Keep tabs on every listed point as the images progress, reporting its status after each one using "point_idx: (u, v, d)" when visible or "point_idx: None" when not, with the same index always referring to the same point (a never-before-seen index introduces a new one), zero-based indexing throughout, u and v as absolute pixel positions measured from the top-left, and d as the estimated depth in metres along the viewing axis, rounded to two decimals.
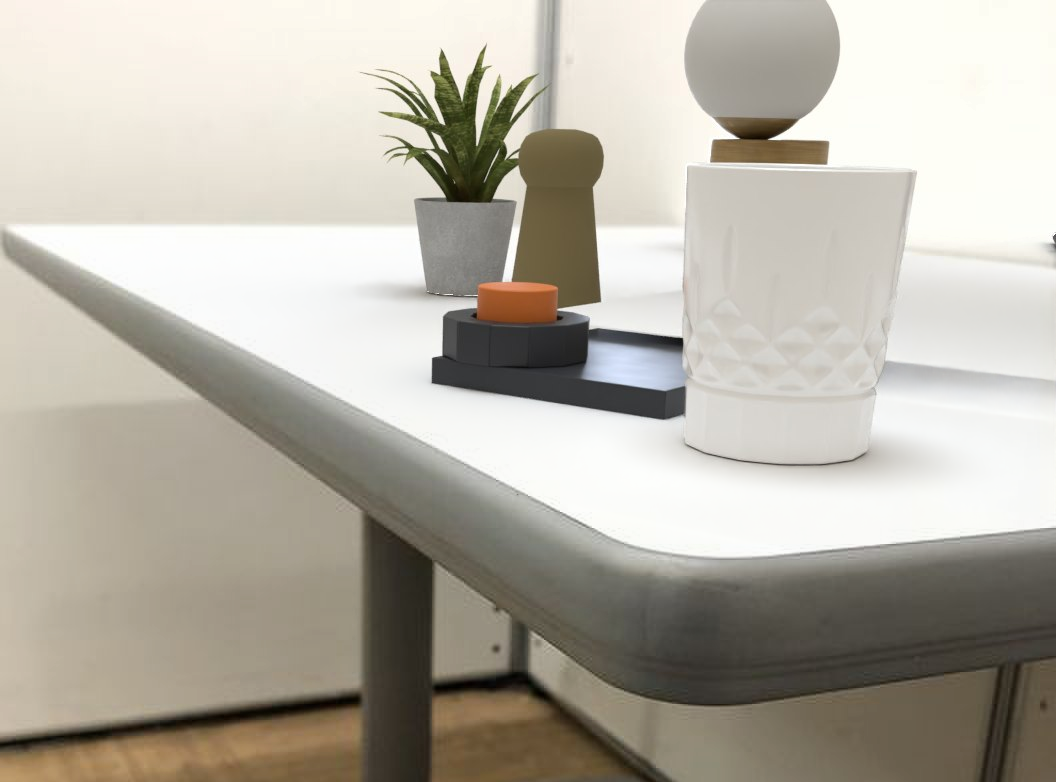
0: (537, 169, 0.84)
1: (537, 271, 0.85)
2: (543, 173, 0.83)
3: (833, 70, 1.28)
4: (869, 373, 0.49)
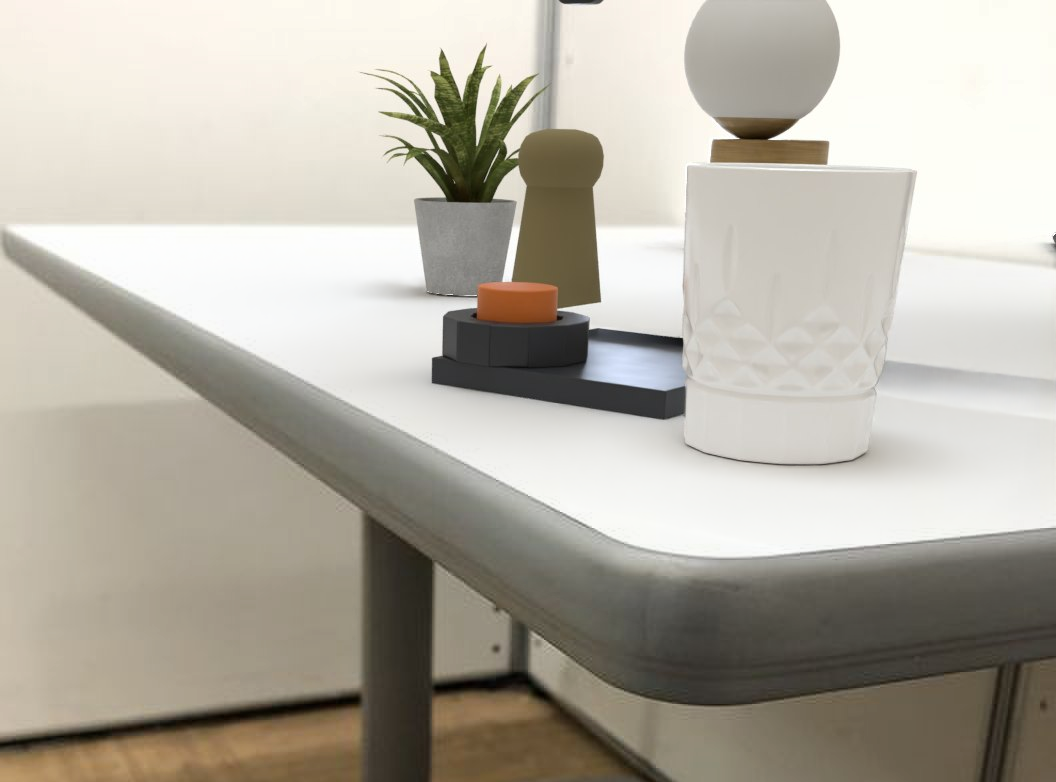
0: (537, 169, 0.84)
1: (537, 271, 0.85)
2: (543, 173, 0.83)
3: (833, 70, 1.28)
4: (869, 373, 0.49)
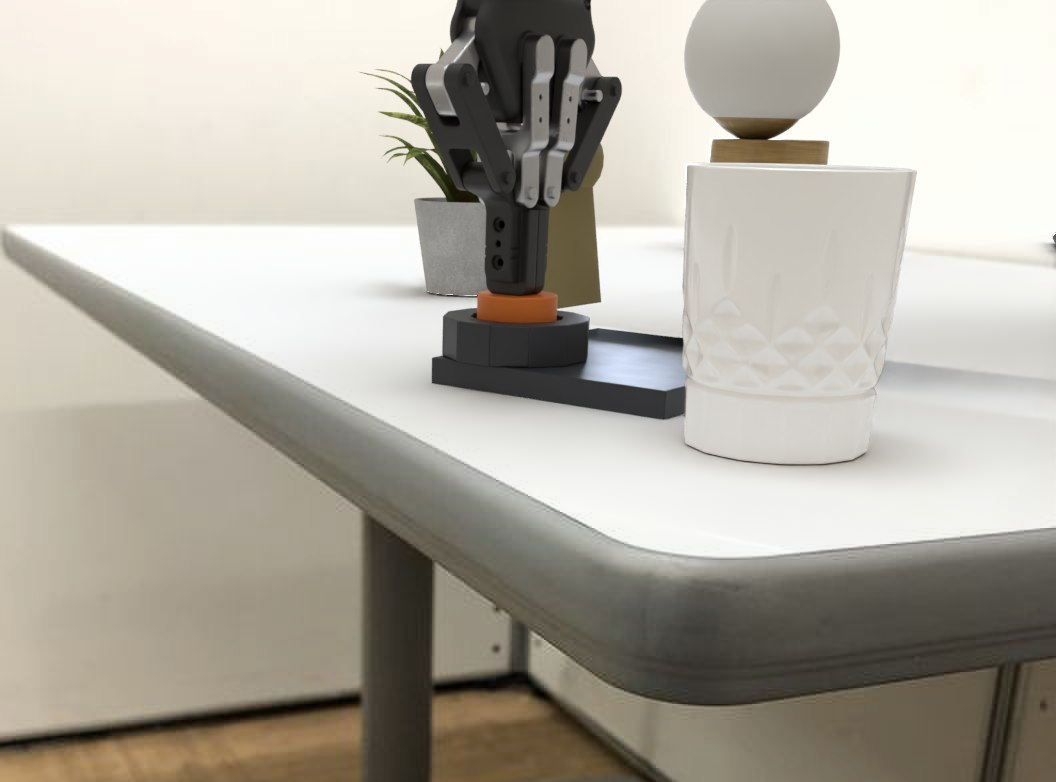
0: None
1: None
2: None
3: (833, 70, 1.28)
4: (869, 373, 0.49)
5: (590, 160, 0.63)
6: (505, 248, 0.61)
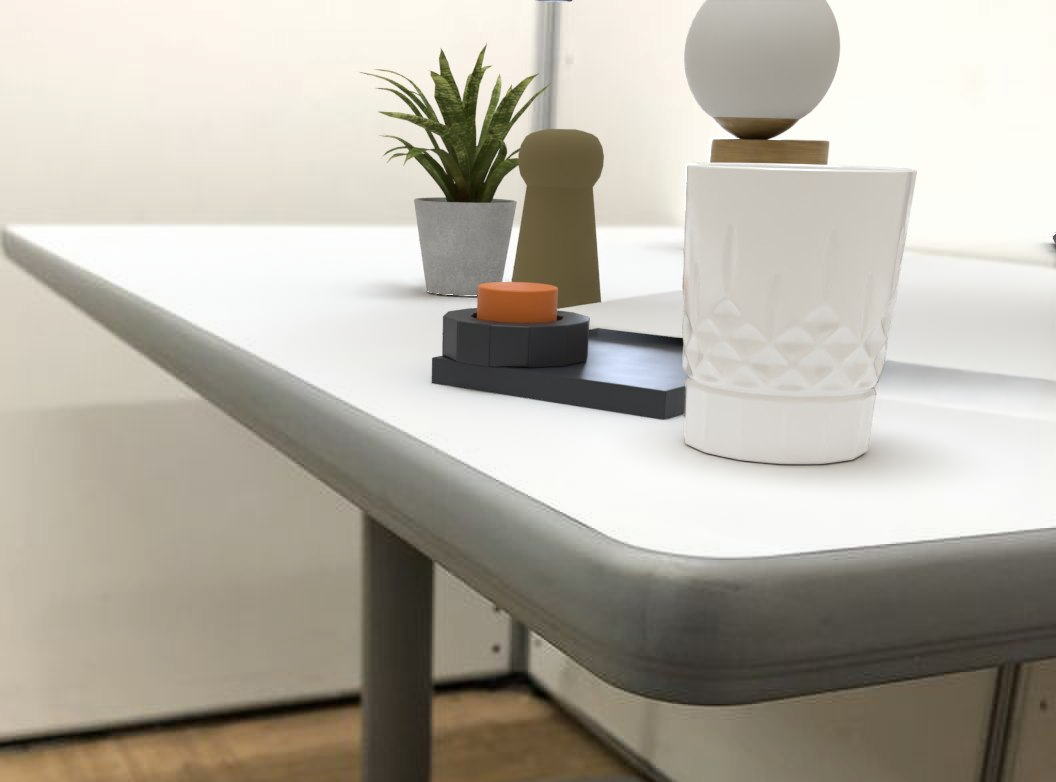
0: (537, 169, 0.84)
1: (537, 271, 0.85)
2: (543, 173, 0.83)
3: (833, 70, 1.28)
4: (869, 373, 0.49)
5: None
6: None
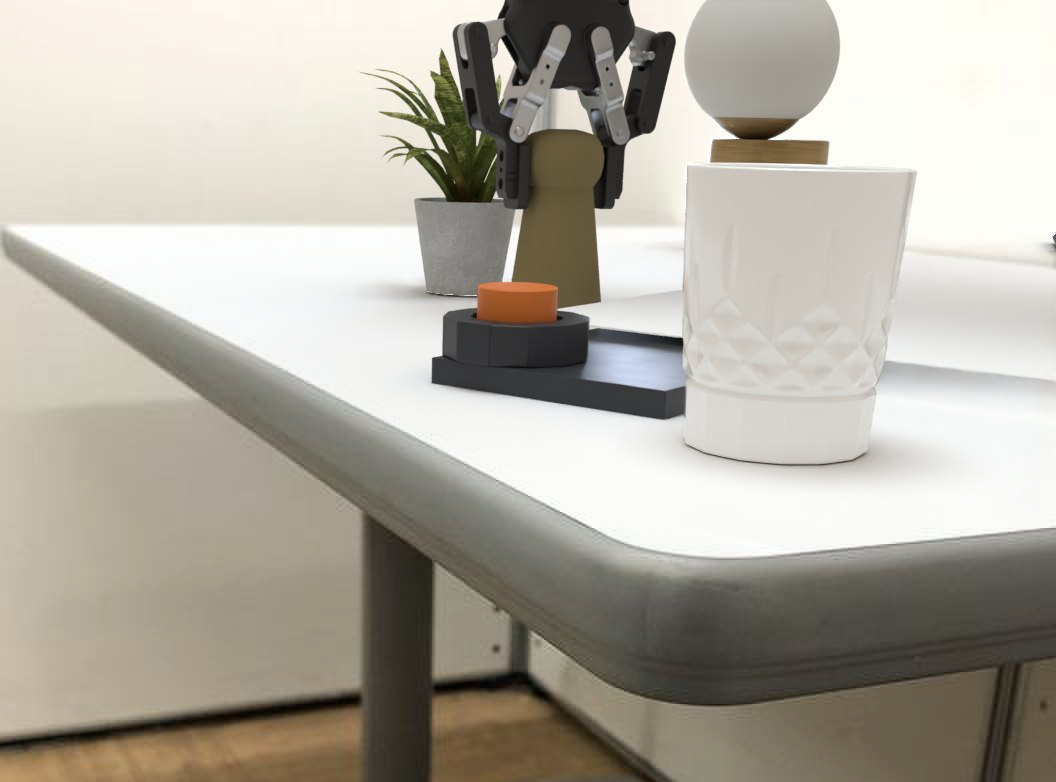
0: (537, 169, 0.84)
1: (537, 271, 0.85)
2: (544, 173, 0.83)
3: (833, 70, 1.28)
4: (869, 373, 0.49)
5: (464, 98, 0.83)
6: None
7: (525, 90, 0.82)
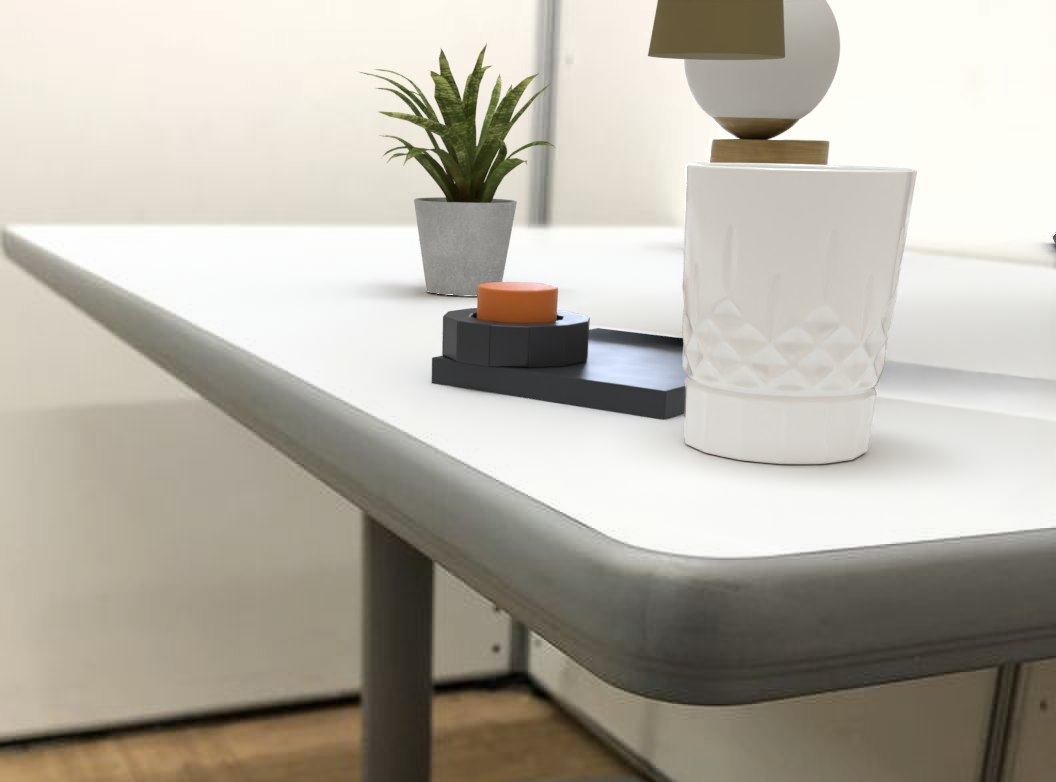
0: None
1: None
2: None
3: (833, 70, 1.28)
4: (869, 373, 0.49)
5: None
6: None
7: None
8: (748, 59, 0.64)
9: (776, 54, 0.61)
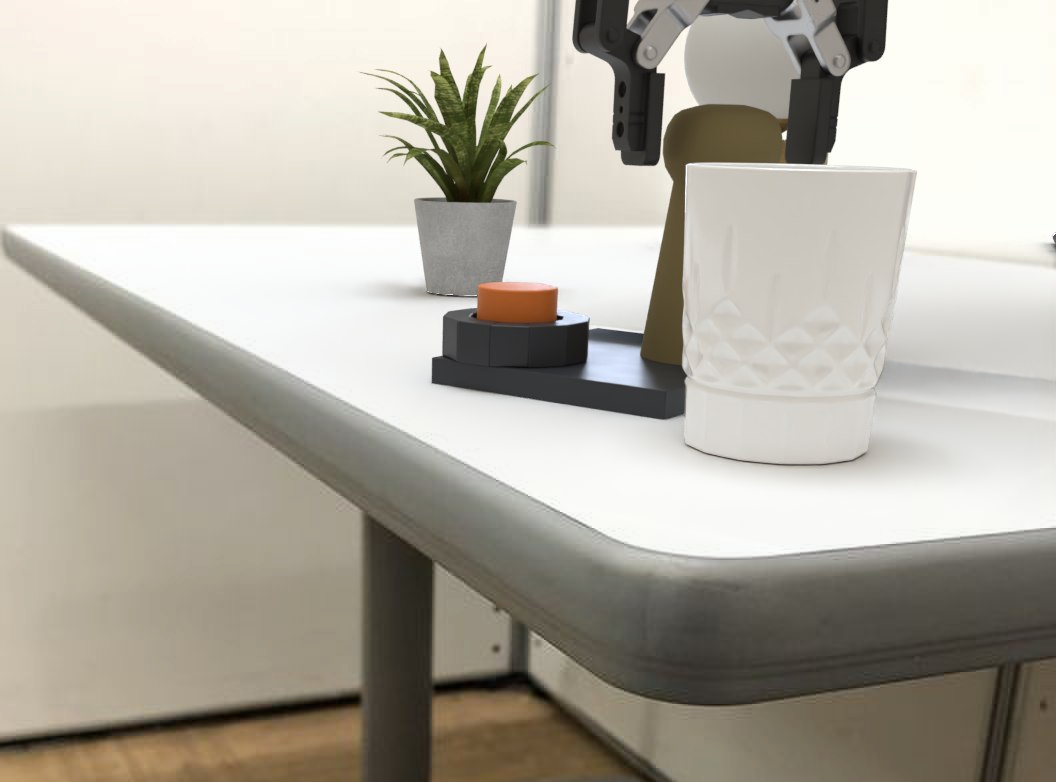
0: (693, 160, 0.60)
1: None
2: None
3: None
4: (869, 373, 0.49)
5: None
6: None
7: None
8: None
9: None
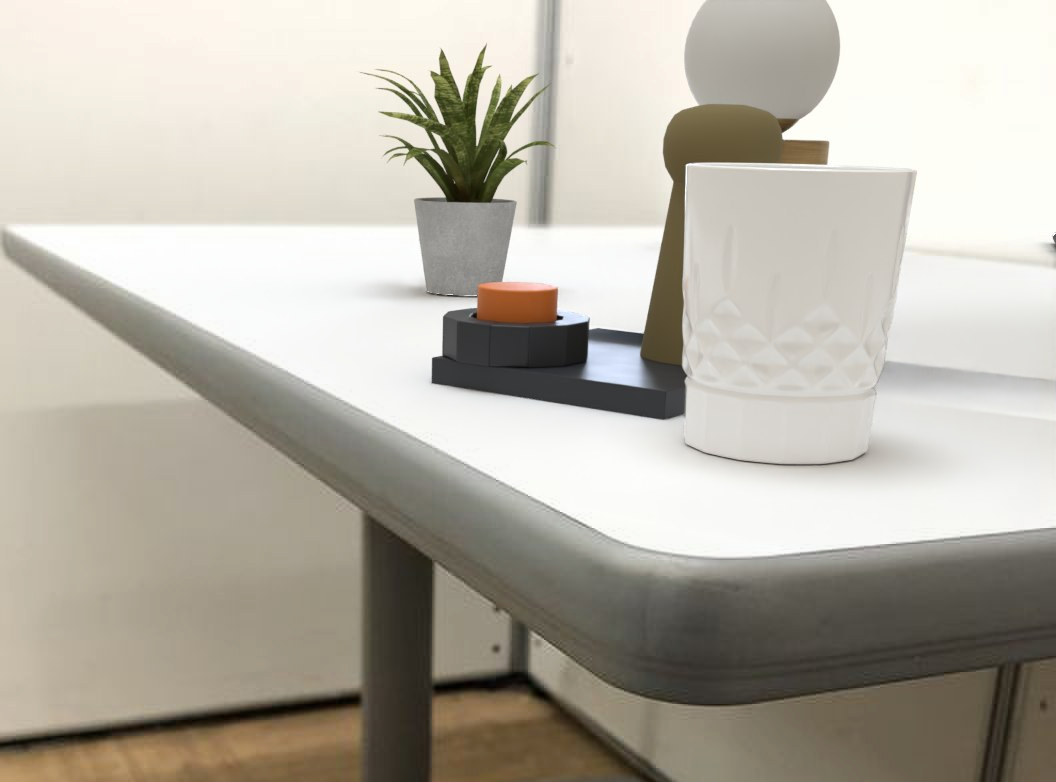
0: (693, 160, 0.60)
1: None
2: None
3: (833, 70, 1.28)
4: (869, 373, 0.49)
5: None
6: None
7: None
8: None
9: None
